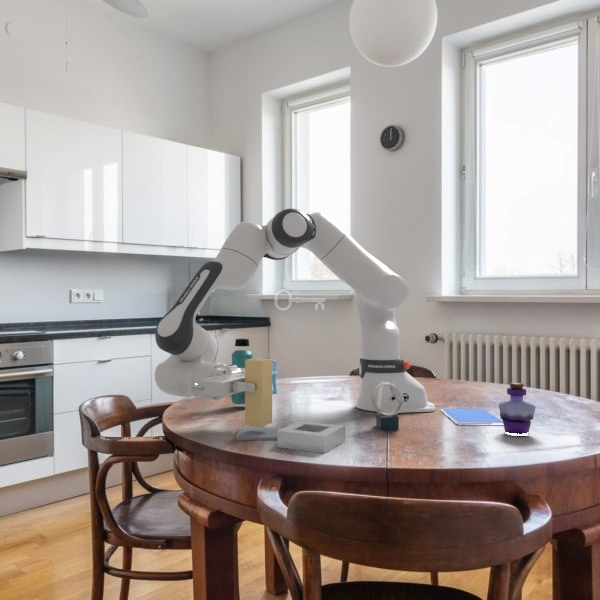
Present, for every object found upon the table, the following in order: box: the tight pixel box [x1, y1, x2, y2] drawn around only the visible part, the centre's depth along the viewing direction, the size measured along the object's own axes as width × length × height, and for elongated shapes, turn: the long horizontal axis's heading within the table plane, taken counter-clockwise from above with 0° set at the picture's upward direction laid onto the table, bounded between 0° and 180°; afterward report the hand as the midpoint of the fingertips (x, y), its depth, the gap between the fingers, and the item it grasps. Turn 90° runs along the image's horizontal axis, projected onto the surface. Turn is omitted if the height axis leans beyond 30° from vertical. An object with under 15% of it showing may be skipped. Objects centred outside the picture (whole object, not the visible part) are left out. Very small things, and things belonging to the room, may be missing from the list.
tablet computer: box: [440, 408, 503, 425], centre depth 154 cm, size 19×13×1 cm, turn 179°
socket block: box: [276, 420, 346, 454], centre depth 125 cm, size 11×11×4 cm
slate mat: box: [235, 426, 282, 441], centre depth 134 cm, size 10×10×1 cm
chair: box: [256, 356, 279, 395], centre depth 193 cm, size 8×8×12 cm
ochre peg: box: [244, 357, 273, 427], centre depth 134 cm, size 5×5×15 cm
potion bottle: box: [498, 382, 536, 434], centre depth 135 cm, size 9×9×12 cm
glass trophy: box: [371, 382, 404, 432], centre depth 141 cm, size 6×8×11 cm
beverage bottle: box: [230, 338, 254, 405], centre depth 167 cm, size 6×7×20 cm
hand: (262, 385), depth 134 cm, fingers closed on ochre peg, 5 cm apart
